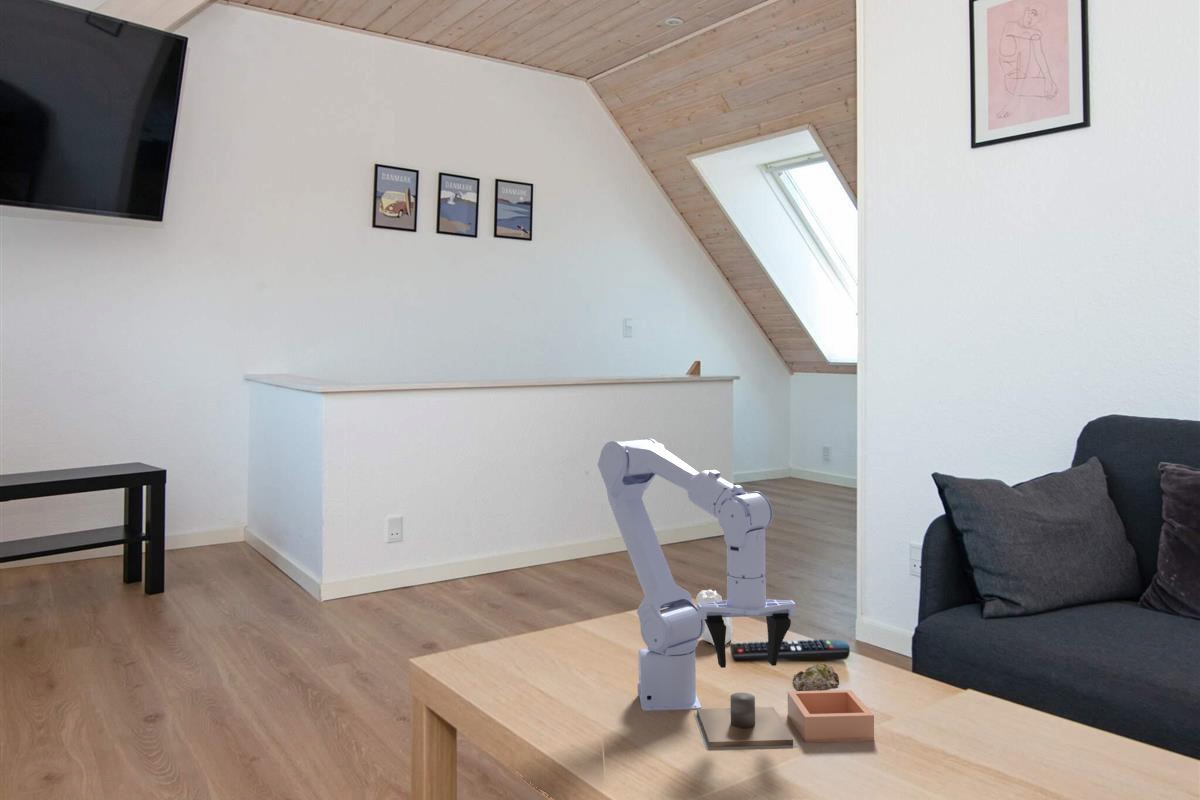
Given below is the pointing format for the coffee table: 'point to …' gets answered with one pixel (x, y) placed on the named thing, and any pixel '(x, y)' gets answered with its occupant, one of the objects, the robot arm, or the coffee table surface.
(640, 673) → the robot arm
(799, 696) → the peach square box
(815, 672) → the mineral rock
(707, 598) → the bust
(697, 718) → the rubber mat
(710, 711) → the walnut lid
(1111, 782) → the coffee table surface
